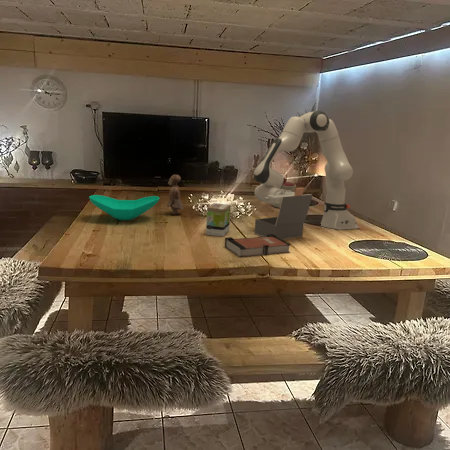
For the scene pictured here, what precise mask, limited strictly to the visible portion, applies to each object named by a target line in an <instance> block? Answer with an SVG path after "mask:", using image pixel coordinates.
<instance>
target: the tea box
mask: <svg viewBox="0 0 450 450" xmlns="http://www.w3.org/2000/svg"><path fill="white" fill-rule="evenodd" d="M231 207H232V206H231V204H227V203H216V202H215V203H212V204H210V206H209V205H208V207H206V208H207V209H206V210H207V211H206V227H205V228H206V229H205V235H206V234H207V236H213V237H214V236H216V237H224V236H225V235H226V234H227V233H228V232H229V231H230V223H231Z"/></svg>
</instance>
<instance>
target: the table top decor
mask: <svg viewBox="0 0 450 450" xmlns="http://www.w3.org/2000/svg"><path fill="white" fill-rule="evenodd" d="M88 197H89V200H90V202H91V203H92V204H93V205H94V206H95V207H97V208H98V209H99V210H101V211H102V212H104V213H106V214H108V215H109V216H110V217H112V218H114V219H115V220H117V219H118V221H124V220H126V221H133V220H135V219H136V218H138V217H139V216H141V215H143V214H145V213H146V212H148V210H150V209H152V208H153V207H155V205H156V204H158V202H160V197H159V196H157V195H151V196H145V197H141V198H138V199H116V198H113V197H110V196H106V195H102V194H101V195H100V194H93V195H90V196H88ZM132 219H133V220H132Z"/></svg>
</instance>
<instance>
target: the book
mask: <svg viewBox="0 0 450 450" xmlns="http://www.w3.org/2000/svg"><path fill="white" fill-rule="evenodd" d="M290 246H292V245H291V243H290V242H287V241H285V240H281V239H279V238H278V237H276V236H275V235H273V234H269V235H267V237H262V236H257V237H256V236H255V237H254V236H253V237H246V238H245V237H243V238H233V237H231V236H230V237H228V236H227V237H224V248H225V249H227V250H229V251H230V252H231V251H232V252H231V253H233V252H234V253H235V254H234V253H233V254H234V255H236V256H237V255H238V256H237V257H239V258H244V257H245V258H247V257H257V256H267V255H279V254H288V253H291V251H290Z"/></svg>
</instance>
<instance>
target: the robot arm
mask: <svg viewBox="0 0 450 450" xmlns="http://www.w3.org/2000/svg"><path fill="white" fill-rule="evenodd" d="M308 133H316V134H317V136H318V141H319V144H320V147H321V150H322V151H321V152H322V154H323V156H324V157H325V160H326V161H327V162H326V163H325V166H324V172H325V183H326V184H325V186H326V188H325V189H326V191H325V201H324V204H323V214H322V218H321V221H320V224H321V225H320V226H321V227H324V228H329V229H333V230H353V229H360V228H359V227H360V226H359V225H358V224H357V223H356V218H355V216H354V215H353V214H352V213H351V212H350V211H349V210H347V209H350V208H351V205H350V204H347V203H346V201H345V200H346V191H347V189H346V186H345V182H346V181H349V179H351V178H352V176H353V174H354V169H353V167H352V166H351V164H350V163H349V159H348V158H347V155H346V153H345V151H344V149H343V146H342V141H341V138H340V135H339V131H338V129H337V127H336V124H335V122H334V121H333V120H332V119H331V118H329V117H328V115H327V114H326V113H325V112H323V111H322V110H314V111H308V112H305V113H303V114H300V115H299V116H291V117H290V118H289V119H288V121H287V122H286V123H285V126H284V128H283V129H282V132H281V134H280V135H279V137H278V138H275V139H274V140H273V141H272V142H271V144H270V145H269V147H268V148H267V150H266V151H265V153H264V155H263V156H262V158H261V160H260V162H259V163H258V164H257V166H255V168H254V169H253V178H254V180H255V182H257V183H258V184H260V185H257V186H256V187H255V189H254V196H255V198H256V199H257V200H258V201H261V202H263V203H269V204H271V205H273V204H274V205H281V202H282V198H283V196H294V194H295V191H294V192H291V191H290V190H283V189H281V188H282V186H283V183H284V178H285V177H284V175H283V174H282V173H281V172H280V171H279V172H278V171H277V170H275V169H273V168H272V167H271V165H272V164H273V161H274V160H275V158H276V156H277V155H278V154H279V152H285V153H286V152H288V153H289V152H293V151H295V150H297V148H298V147H299V145H300V143H301V140H302V138H303V135H304V134H308Z"/></svg>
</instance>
